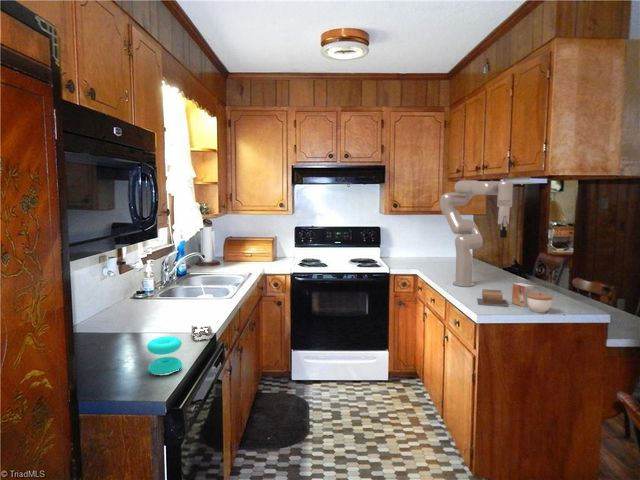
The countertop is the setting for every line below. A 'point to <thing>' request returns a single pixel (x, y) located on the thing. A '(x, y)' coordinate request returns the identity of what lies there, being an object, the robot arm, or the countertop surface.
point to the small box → (521, 294)
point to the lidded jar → (539, 302)
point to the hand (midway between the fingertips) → (503, 237)
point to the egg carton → (202, 331)
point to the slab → (492, 296)
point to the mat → (504, 303)
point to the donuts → (163, 347)
